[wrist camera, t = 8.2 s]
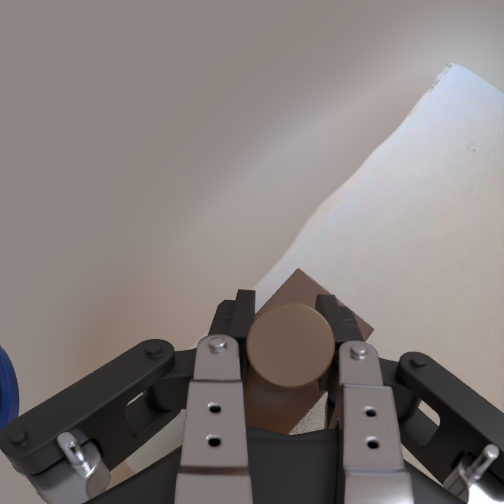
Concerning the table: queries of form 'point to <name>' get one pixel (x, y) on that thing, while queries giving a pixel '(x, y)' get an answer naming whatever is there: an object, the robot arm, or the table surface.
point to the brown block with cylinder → (288, 355)
